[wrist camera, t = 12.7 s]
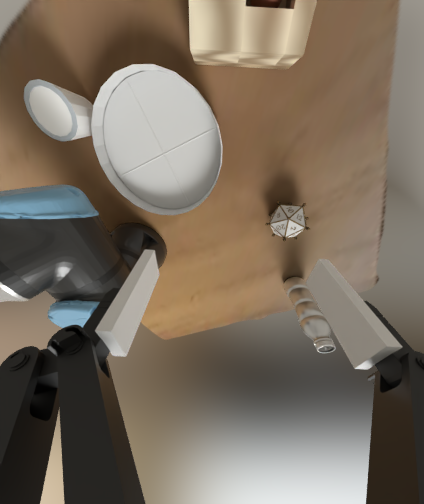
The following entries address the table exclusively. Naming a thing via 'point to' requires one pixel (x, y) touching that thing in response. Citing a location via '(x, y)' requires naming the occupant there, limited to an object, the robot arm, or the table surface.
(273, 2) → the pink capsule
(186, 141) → the dish
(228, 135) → the table surface
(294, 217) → the game die
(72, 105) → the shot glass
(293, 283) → the plastic bottle
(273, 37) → the birch block
